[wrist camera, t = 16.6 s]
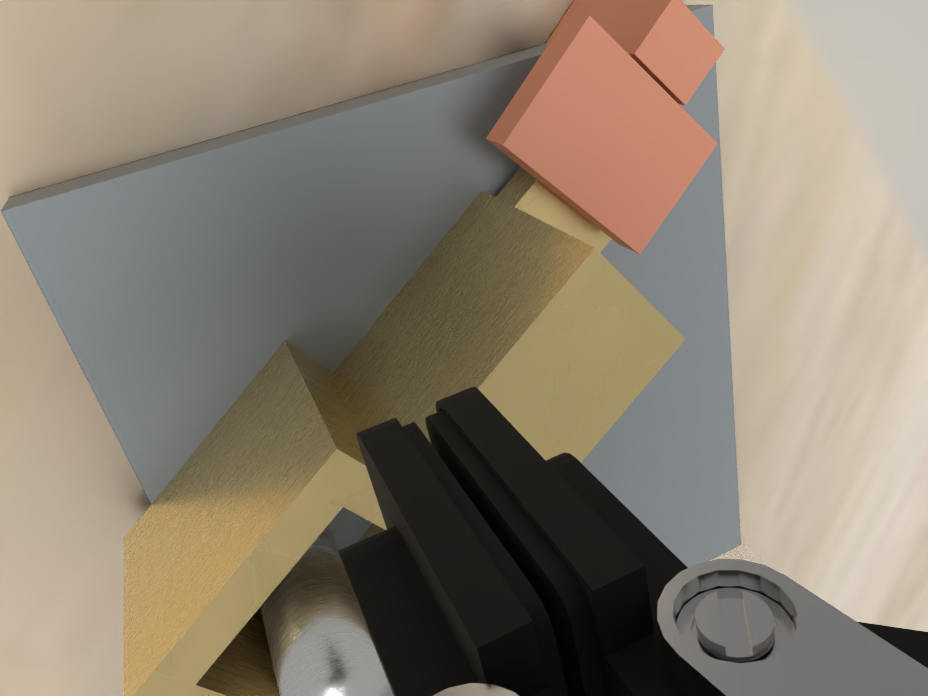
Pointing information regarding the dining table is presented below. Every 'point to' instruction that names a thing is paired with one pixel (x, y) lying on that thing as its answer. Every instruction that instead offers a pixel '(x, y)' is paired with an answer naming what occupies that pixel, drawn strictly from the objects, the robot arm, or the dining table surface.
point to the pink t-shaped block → (614, 113)
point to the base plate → (363, 280)
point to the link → (373, 402)
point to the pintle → (321, 630)
